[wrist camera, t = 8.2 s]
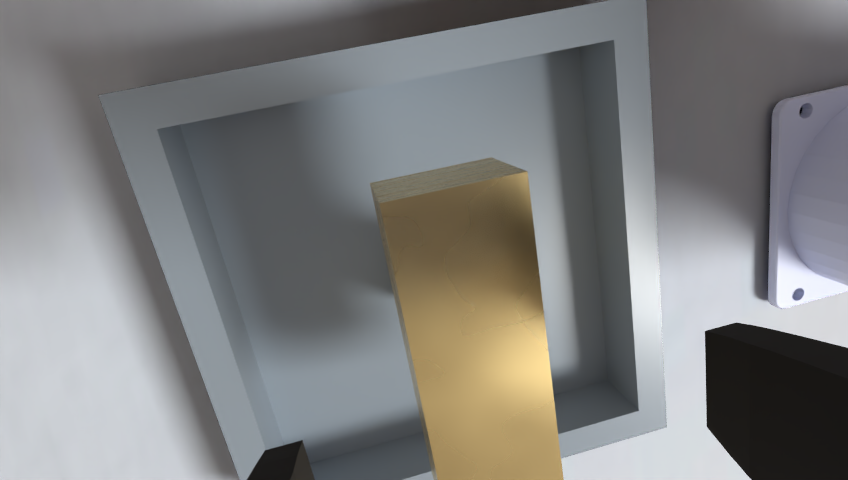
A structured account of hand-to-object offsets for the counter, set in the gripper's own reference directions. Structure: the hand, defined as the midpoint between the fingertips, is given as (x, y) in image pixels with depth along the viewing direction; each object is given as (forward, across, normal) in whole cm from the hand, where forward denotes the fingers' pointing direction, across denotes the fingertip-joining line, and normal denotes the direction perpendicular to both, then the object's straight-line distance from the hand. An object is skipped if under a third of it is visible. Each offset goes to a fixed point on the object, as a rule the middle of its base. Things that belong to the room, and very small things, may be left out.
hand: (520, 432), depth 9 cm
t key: (+8, 0, 0) cm, 8 cm away
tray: (+9, 0, 0) cm, 9 cm away
